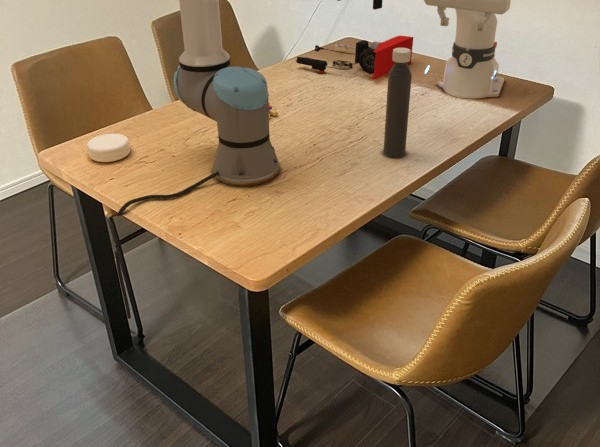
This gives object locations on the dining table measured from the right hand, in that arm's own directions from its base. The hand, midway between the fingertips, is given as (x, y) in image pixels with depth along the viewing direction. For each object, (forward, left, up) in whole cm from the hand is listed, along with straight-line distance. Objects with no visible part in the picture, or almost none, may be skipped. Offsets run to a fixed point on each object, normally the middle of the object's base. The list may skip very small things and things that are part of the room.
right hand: (462, 28), depth 150 cm
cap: (+20, -7, -1) cm, 21 cm away
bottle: (+20, -7, -27) cm, 34 cm away
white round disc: (+58, -66, -27) cm, 92 cm away
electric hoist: (-34, -48, -27) cm, 64 cm away
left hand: (-4, -31, +1) cm, 31 cm away
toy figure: (+17, -51, -27) cm, 60 cm away
